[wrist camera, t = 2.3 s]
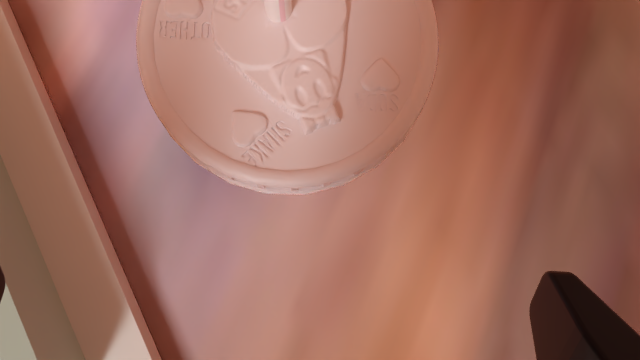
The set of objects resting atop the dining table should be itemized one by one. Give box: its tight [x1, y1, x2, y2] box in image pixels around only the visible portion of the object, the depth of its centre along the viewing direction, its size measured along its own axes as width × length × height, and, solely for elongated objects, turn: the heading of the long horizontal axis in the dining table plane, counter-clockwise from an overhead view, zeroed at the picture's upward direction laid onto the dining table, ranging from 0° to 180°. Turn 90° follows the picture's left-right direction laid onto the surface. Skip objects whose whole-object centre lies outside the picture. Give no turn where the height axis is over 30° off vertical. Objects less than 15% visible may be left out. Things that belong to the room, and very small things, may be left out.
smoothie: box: [136, 0, 439, 195], centre depth 14 cm, size 6×6×14 cm
